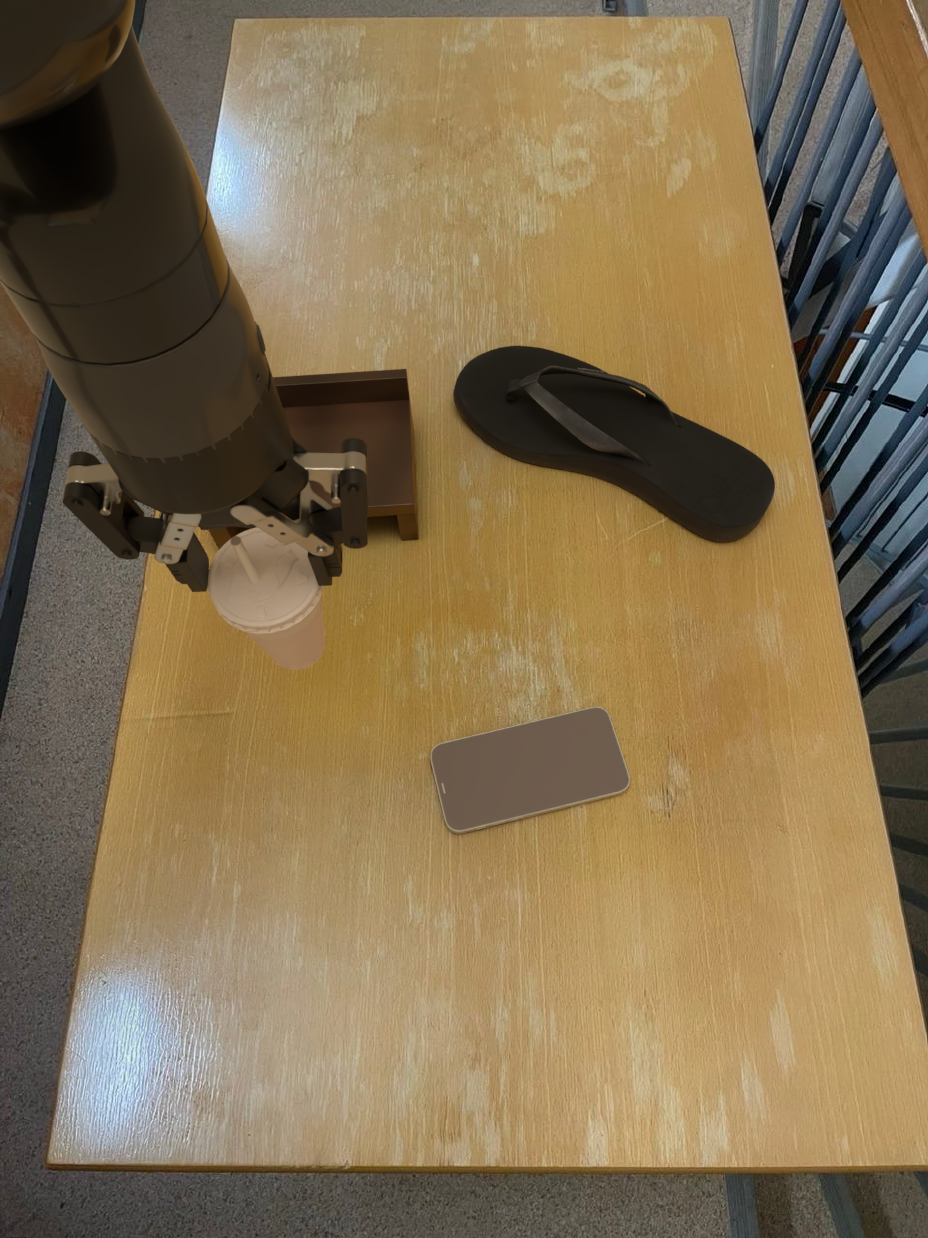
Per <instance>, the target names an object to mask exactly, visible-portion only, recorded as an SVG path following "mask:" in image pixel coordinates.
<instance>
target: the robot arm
mask: <svg viewBox="0 0 928 1238" xmlns="http://www.w3.org/2000/svg"><path fill="white" fill-rule="evenodd" d="M135 7H136V0H0V286H1V287H2V288H3V290H4V291H5V293H6V294H7V296H8V298H10V301H11V302H12V303H13V305H14V307H15V309H16V310H17V312H18V313H19V314H20V317H22V319H23V321H24V323H25V324H26V325H27V327H28V329H29V330H30V332H31V333H32V335H33V337H34V339H35V341H36V343H37V345H38V348H39V350H40V353H41V355H42V358H43V360H44V362H45V364H46V366H47V368H48V371H49V373H50V375H51V376H52V378H53V380H54V381H55V383H56V385H57V387H58V388H59V390H60V392H61V393H62V394H63V396H64V398H65V399H66V401H67V402H68V404H69V405H70V406H71V409H72V410H73V412H74V413H75V414H76V416H77V417H78V419H79V420H80V422H81V424H82V425H83V427H84V428H85V430H86V431H87V433H88V434H89V436H90V437H91V439H92V440H93V442H94V443H95V445H96V447H97V449H99V451H100V452H101V454H102V455H103V457H104V459H105V460H106V462H107V463H102V462H101V461H100V460H99V458H97V457H96V456H95V455H94V454H93V453H90V452H87V451H74V452H72V453H70V455H69V459H68V460H69V461H68V466H67V472H66V477H65V478H66V479H65V484H64V490H63V497H62V504H63V505H64V506H65V508H66V509H67V510H69V511H70V512H71V513H72V514H73V516H75V517H76V518H77V519H78V520H79V521H80V522H81V523H82V524H83V525H84V526H85V527H86V528H87V529H88V530H89V531H90V532H91V533H92V534H93V536H95V537H96V538H97V539H98V540H99V541H100V542H101V543H102V544H103V545H104V546H105V547H106V548H108V550H109V551H110V552H111V553H112V554H113V555H114V556H115V557H116V558H119V559H123V560H128V561H131V560H136V559H139V557H140V555H141V553H145V554H151V555H153V559H154V560H155V561H157V562H158V563H161V564H164V565H165V567H166V568H167V569H168V571H169V572H170V574H171V575H172V576H173V578H174V579H175V581H177V582H178V583H180V584H181V585H187V587H188V588H189V589H190V590H191V592H192V593H201V592H202V593H203V592H207V591H208V574H209V568H210V559H209V556H208V553H207V552H206V550H205V548H204V546H203V545H202V543H201V542H200V539H199V538H198V536H197V535H196V533H195V530H196V528H198V527H199V529H200V531H209V530H214V529H221V528H226V527H231V526H235V527H239V528H247V529H252V528H256V527H258V528H259V529H261V530H262V531H264V532H265V533H267V534H269V535H270V536H272V537H273V538H275V539H276V540H278V541H279V542H281V543H282V544H284V545H288V544H291V543H294V542H295V543H296V544H298V545H299V546H301V547H302V548H304V549H305V550H307V551H308V559H309V562H310V564H311V567H312V570H313V572H314V575H315V578H316V580H317V583H318V585H319V586H324V587H328V586H329V587H331V586H333V578H338V577H341V575H342V574H343V552H344V551H343V550H344V549H343V546H345V547H346V548H349V549H353V550H354V549H355V550H359V549H363V548H365V547H366V546H368V540H369V539H368V536H369V535H368V534H369V533H368V517H367V510H368V493H367V444H366V443H365V442H364V441H363V440H361V439H357V438H349V439H346V440H344V441H343V442H342V443H341V452H340V453H308V450H307V449H306V447H305V446H304V445H303V444H302V443H301V442H299V441H298V440H297V439H295V438H294V437H293V436H292V434H291V433H290V430H289V426H288V423H287V419H286V416H285V413H284V410H283V407H282V404H281V401H280V398H279V395H278V392H277V389H276V386H275V382H274V379H273V377H274V376H273V374H272V369H271V367H270V364H269V361H268V358H267V355H266V352H267V349H266V344H265V340H264V337H263V333H262V331H261V327H260V325H259V324H257V323H258V322H257V321H256V320H255V318H254V315H253V311H252V310H251V307H250V304H249V301H248V299H247V297H246V294H245V292H244V290H243V288H242V286H241V284H240V283H239V280H238V279H237V277H236V275H235V273H234V270H233V269H232V267H231V265H230V263H229V261H228V258H227V256H226V254H225V249H224V247H223V245H222V242H221V237H220V235H219V232H218V230H217V226H216V223H215V220H214V218H213V217H214V216H213V215H212V211H211V209H210V205H209V203H208V199H207V196H206V193H205V192H206V191H205V190H204V187H203V185H202V182H201V180H200V177H199V174H198V171H197V169H196V166H195V164H194V161H193V160H192V157H191V155H190V152H189V151H188V149H187V147H186V144H185V142H184V140H183V138H182V136H181V134H180V132H179V130H178V127H177V126H176V124H175V122H174V120H173V119H172V116H171V114H170V113H169V110H168V109H167V107H166V105H165V103H164V101H163V100H162V98H161V96H160V94H159V91H158V90H157V88H156V86H155V84H154V82H153V81H154V80H153V79H152V76H151V74H150V72H149V70H148V67H147V65H146V62H145V60H144V57H143V54H142V52H141V48H140V45H139V42H138V39H137V36H136V32H135V30H134V27H133V19H134V14H135ZM309 481H315V482H318V483H320V484H321V485H322V486H323V488H324V490H325V491H326V492H328V493H330V494H331V502H332V503H334V504H339V503H341V506H340V507H336V508H333V507H332V506H331V505H330V504H328V503H327V502H326V501H324V500H323V499H322V498H320V497H319V496H318V495H316V494H315V493H314V492H313V491H312V489H311V486H310V483H309ZM138 503H140V504H141V505H144V506H147V507H149V508H151V509H152V510H155V511H157V512H159V514H158V517H153V516H152V517H151V516H145V511H144V510H143V509H142V508H141V507H140V506H139V505H138ZM342 545H343V546H342Z"/></svg>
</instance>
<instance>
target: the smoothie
mask: <svg viewBox="0 0 928 1238" xmlns="http://www.w3.org/2000/svg"><path fill="white" fill-rule="evenodd" d="M324 588H325V586H319V585H318V583H317V580H316V578H315V575H314V572H313V570H312V567H311V564H310V562H309V559H308V551H307V550H305V549H304V548H302V547H301V546H299V545H298V544H296V543H295V542H294V543H291V544H288V545H284V544H282V543H281V542H279V541H278V540H276V539H275V538H273V537H272V536H270V535H269V534H267V533H265V532H264V531H262V530H261V529H259V528H258V527H254V528H248V529H247V530H244V531H242V532H239V534H238V535H236V536H234V537H232V538H231V539H230V540H229V541H228V542H226V543H225V544H224V545H223V546H222V547H221V548H220V550H219V549H218V551H217V552H216V554H215V555H214V557H213V559H212V560H211V563H210V564H209V574H208V586H207V591H208V594H209V598H210V600H211V601H212V604H213V606H214V608H215V610H216V611H217V614H218V615H219V616H220V618H222V619H223V620H224V621H225V622H226V623H227V624H228V625H230V626H232V627H233V628H236V629H238V630H240V631H241V632H243V633H245V634H246V636H248V637H249V638H250V640H252V641H253V642H254V643H255V645H256V646H258V647H259V648H260V649H261V650H262V651H263V652H264V653H265V654H266V656H268V657H269V658H270V659H271V660H272V661H273V662H274V663H275V664H276V665H278V666H279V667H281V668H282V669H285V670H289V671H300V670H305V669H307V668H310V667H311V666H313V665H314V664H316V663H317V662H318V661H319V660H320V658H321V657H322V656H323V654H324V652H325V649H326V644H327V643H326V642H327V639H326V631H325V621H324V611H323V600H322V594H323V591H324Z"/></svg>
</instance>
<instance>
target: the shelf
mask: <svg viewBox="0 0 928 1238" xmlns="http://www.w3.org/2000/svg"><path fill="white" fill-rule="evenodd" d="M407 369H408V368H396V369H381V370H379V369H378V370H366V371H363V370H362V371H348V372H335V373H333V372H332V373H317V374H316V373H315V374H303V375H302V374H301V375H287V376H273V379H274V382H275V386H276V389H277V392H278V395H279V398H280V401H281V404H282V407H283V410H284V413H285V416H286V419H287V423H288V426H289V430H290V433H291V434H292V436H293V437H294V438H295V439H297V440H298V441H299V442H301V443H302V444H303V445H304V446H305V447H306V449H307V450H308V453H340V452H341V443H342V442H343V441H344V440H346V439H349V438H357V439H361V440H363V441H364V442H365V443H366V444H367V493H368V510H367V518H369V517H370V518H372V517H387V516H396V518H397V523H398V530H399V536H400V540H401V541H413V540H414V541H415V540H419V539H420V536H419V535H420V534H419V514H418V491H417V490H418V489H417V469H416V446H415V429H414V419H413V413H412V403H411V395H410V388H409V378H408V371H407ZM309 483H310V486H311V489H312V491H313V492H314V493H315V494H316V495H318V496H319V497H320V498H322V499H323V500H324V501H326V502H327V503H328V504H330V505H331V506H332V507H333V508H336V507H340V506H341V503H339V504H334V503H332V502H331V494H330V493H328V492H326V491H325V490H324V488H323V486H322V485H321V484H320V483H318V482H315V481H309ZM239 531H240V527H235V526H231V527H226V528H221V529H214V530H208V532H209V534H210V536H211V537H212V540H213V541H214V543H215V545H216V547H217V549H218V551H219V550H220V548H221V547H222V546H223V545H224V544H225V543H226V542H228V541H229V540H230V539H231V538H232V537H234V536H236V535H238V534H240V532H239Z"/></svg>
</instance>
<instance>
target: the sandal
mask: <svg viewBox="0 0 928 1238" xmlns="http://www.w3.org/2000/svg"><path fill="white" fill-rule="evenodd" d="M452 397H453V402H454V404H455V407H456V409H457V410H458V412H459V414H460V415H461V417H462V418H463V419H464V421H465V423H467V425H469V426H470V427H471V428H472V430H473V431H474V432H475V433H476V434H477V435H478V436H479V437H480V438H481V439H482V440H483V441H485V442H486V443H487V444H489V445H490V446H491V447H493V448H494V449H496V450H497V451H499V452H501V453H502V454H505V455H506V456H508V457H511V458H512V459H515V460H518V461H521V462H524V463H528V464H532V465H535V466H542V467H546V468H547V467H548V468H553V469H558V470H563V471H569V472H573V473H578V474H583V475H586V476H590V477H595V478H597V479H601V480H604V481H607V482H609V483H611V484H613V485H616V486H618V487H620V488H623V489H625V490H626V491H629V492H630V493H632V494H634V495H635V496H637V497H639V498H640V499H642V500H644V501H646V502H647V503H648V504H650V505H651V506H653V507H654V508H656V509H657V510H658V511H660V512H662V513H663V514H664V515H666V516H668V518H670V519H672V520H673V521H675V522H676V523H678V524H679V525H681V526H683V527H684V528H686V529H687V530H689V531H691V532H692V533H693V534H696V535H698V536H699V537H702V538H705V539H706V540H710V541H713V542H721V543H724V542H725V543H726V542H733V541H737V540H739V539H742V538H743V537H745V536H747V535H748V534H750V533H751V532H752V531H753V530H754V529H755V528H756V527H758V525H759V524H760V522H761V521H762V519H763V517H764V516H765V514H766V512H767V510H768V509H769V506H770V504H771V502H772V500H773V498H774V494H775V489H776V482H775V477H774V474H773V472H772V469H771V468H770V467H769V466H768V464H767V463H766V462H765V461H764V460H763V459H762V458H760V456H759V455H757V454H756V453H755V452H753V451H751V450H750V449H747V448H746V447H745V446H743V445H741V444H739V443H738V442H736V441H735V440H732V439H730V438H728V437H726V436H724V435H722V434H720V433H718V432H716V431H714V430H712V429H710V428H708V427H705V426H703V425H701V424H700V423H697V422H695V421H693V420H690V419H688V418H686V417H685V416H682V415H680V414H678V413H676V412H675V411H672V410H671V409H670V407H669V406H668V404H667V403H666V402H665V401H664V400H663V399H662V398H661V397H660V396H659V395H657V394H656V393H655V392H654V391H653V390H652V389H650V387H648V386H647V385H646V384H643V383H641V382H638V381H636V380H633V379H629V378H627V377H625V376H621V375H617V374H612V373H609V372H606V370H603V369H601V368H599V367H597V366H595V365H593V364H591V363H588V362H586V361H584V360H580V359H578V358H575V357H572V356H570V355H566V354H565V353H562V352H557V351H554V350H551V349H547V348H544V347H536V346H529V345H509V346H508V345H507V346H501V347H497V348H494V349H491V350H487V351H485V352H483V353H481V354H479V355H476V356H475V357H473V358H471V360H469V361H468V362H467V363H466V364H465V365H464V366H463V368H462V370H460V372H459V373H458V376H457V378H456V381H455V385H454V388H453V392H452Z"/></svg>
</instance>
